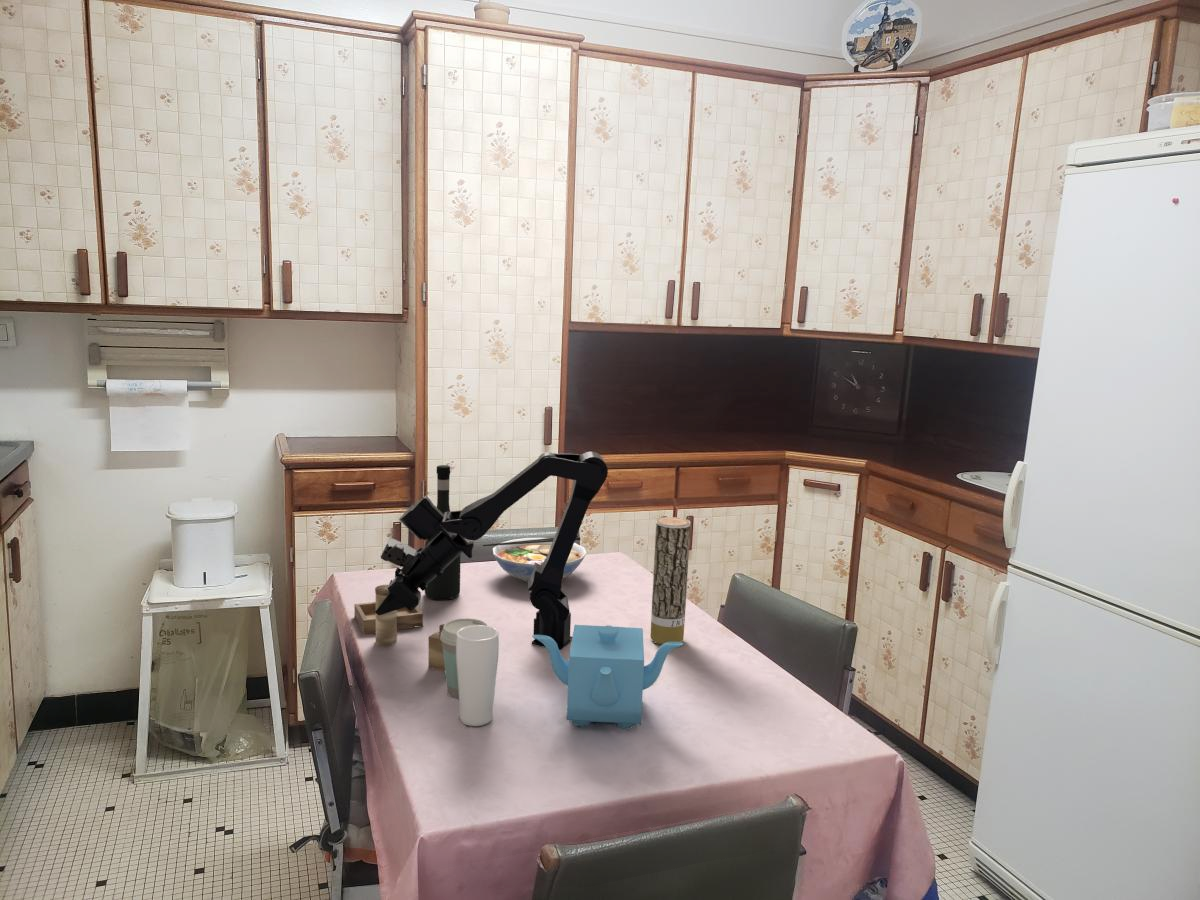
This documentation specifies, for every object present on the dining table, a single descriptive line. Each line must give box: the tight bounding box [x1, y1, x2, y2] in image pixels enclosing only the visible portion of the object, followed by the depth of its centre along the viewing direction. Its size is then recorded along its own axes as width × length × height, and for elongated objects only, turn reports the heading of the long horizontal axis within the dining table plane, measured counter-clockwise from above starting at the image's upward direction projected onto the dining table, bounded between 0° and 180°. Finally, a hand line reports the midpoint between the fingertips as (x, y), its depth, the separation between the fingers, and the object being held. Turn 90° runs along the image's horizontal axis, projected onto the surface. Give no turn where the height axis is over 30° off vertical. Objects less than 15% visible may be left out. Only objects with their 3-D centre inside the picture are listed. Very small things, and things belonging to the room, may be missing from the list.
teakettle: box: [531, 624, 685, 729], centre depth 146 cm, size 19×19×15 cm
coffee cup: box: [440, 618, 488, 700], centre depth 152 cm, size 8×9×12 cm
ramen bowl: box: [482, 534, 588, 583], centre depth 214 cm, size 25×23×8 cm
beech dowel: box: [374, 584, 398, 647], centre depth 173 cm, size 4×4×11 cm
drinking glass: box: [456, 625, 500, 727], centre depth 142 cm, size 7×7×15 cm
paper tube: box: [649, 516, 691, 646], centre depth 178 cm, size 7×7×25 cm
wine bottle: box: [424, 464, 462, 601], centre depth 199 cm, size 8×8×30 cm
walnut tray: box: [353, 601, 424, 635], centre depth 184 cm, size 12×10×3 cm
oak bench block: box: [427, 623, 446, 672], centre depth 161 cm, size 3×10×8 cm, turn 68°
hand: (378, 609), depth 172 cm, fingers closed on beech dowel, 4 cm apart
